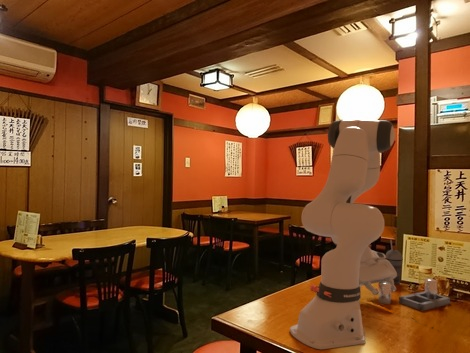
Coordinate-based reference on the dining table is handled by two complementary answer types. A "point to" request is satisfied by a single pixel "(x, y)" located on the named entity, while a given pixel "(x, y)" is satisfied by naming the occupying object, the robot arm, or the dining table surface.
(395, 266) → the beverage cup
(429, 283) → the billet
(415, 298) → the grey divided tray
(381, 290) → the billet
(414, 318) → the dining table surface
